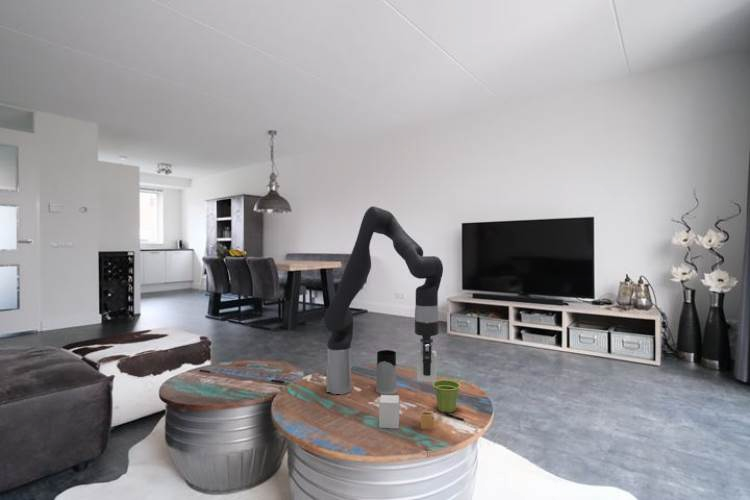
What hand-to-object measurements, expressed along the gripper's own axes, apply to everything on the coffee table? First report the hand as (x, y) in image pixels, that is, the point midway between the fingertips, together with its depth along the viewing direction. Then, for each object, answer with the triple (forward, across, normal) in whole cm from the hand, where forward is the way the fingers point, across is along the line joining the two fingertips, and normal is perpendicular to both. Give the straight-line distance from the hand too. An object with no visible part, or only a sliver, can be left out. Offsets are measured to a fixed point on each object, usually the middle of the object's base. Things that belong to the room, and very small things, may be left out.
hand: (426, 371), depth 119 cm
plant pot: (+17, -13, +7) cm, 23 cm away
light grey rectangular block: (+2, 0, 0) cm, 2 cm away
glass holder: (+18, -31, -15) cm, 39 cm away
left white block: (+17, 0, -12) cm, 21 cm away
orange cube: (+17, 0, 0) cm, 17 cm away
